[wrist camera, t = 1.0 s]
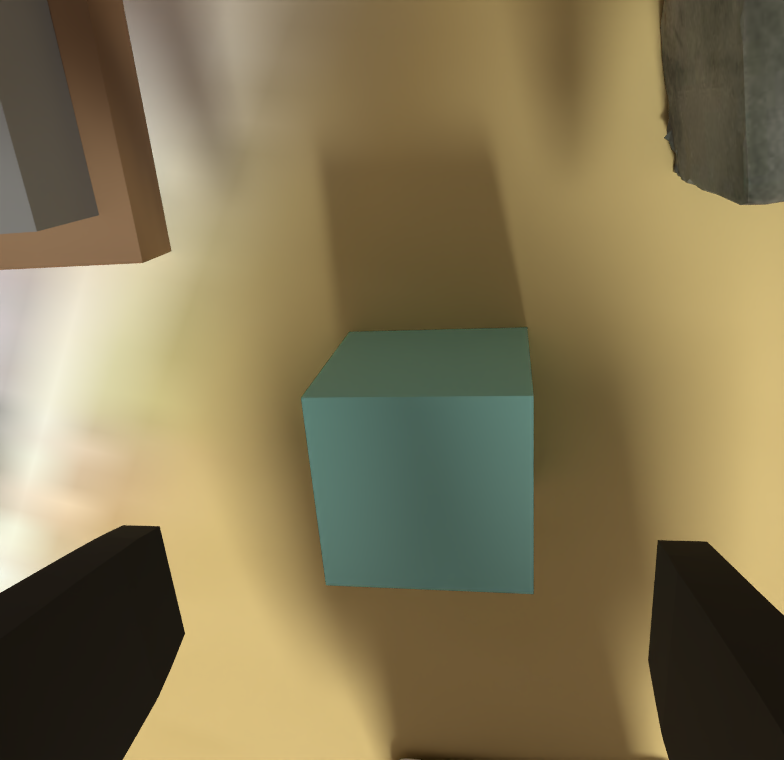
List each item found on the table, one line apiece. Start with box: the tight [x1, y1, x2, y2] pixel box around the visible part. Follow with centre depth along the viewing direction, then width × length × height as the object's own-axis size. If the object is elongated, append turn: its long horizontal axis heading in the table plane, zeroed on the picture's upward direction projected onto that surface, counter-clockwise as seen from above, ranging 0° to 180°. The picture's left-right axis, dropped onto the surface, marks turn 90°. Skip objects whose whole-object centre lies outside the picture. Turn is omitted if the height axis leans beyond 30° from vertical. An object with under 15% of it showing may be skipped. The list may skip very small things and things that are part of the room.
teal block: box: [301, 327, 534, 594], centre depth 14 cm, size 4×4×4 cm
